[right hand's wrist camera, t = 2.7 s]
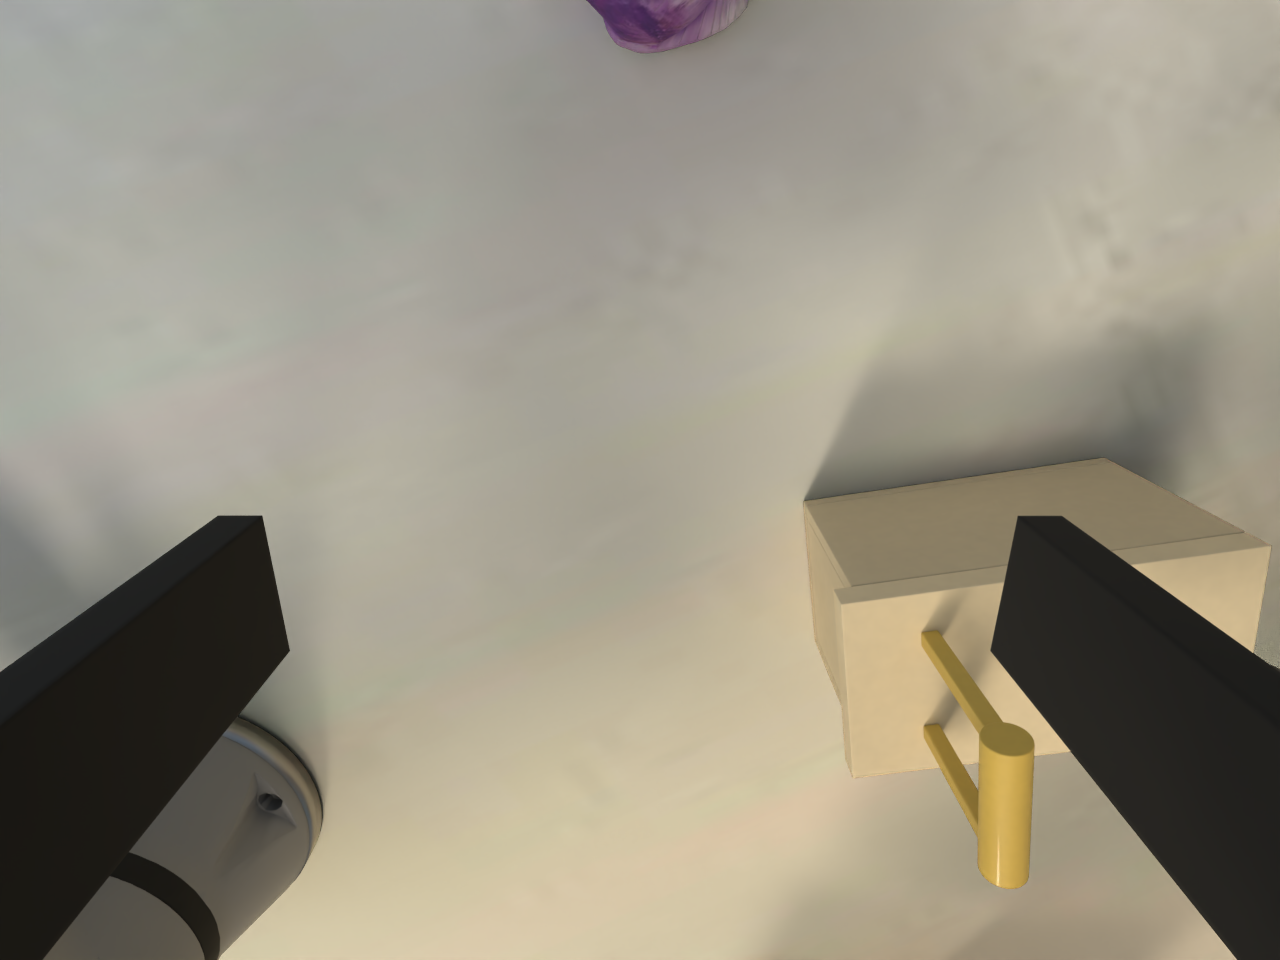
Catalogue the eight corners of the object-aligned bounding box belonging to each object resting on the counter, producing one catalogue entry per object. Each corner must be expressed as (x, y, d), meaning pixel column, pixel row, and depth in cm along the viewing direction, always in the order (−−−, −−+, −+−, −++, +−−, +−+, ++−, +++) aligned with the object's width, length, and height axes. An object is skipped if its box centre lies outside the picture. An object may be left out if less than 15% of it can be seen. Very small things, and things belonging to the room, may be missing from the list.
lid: (845, 758, 33) (911, 934, 25) (832, 588, 30) (904, 727, 22) (1218, 712, 32) (1412, 879, 24) (1247, 531, 29) (1480, 655, 21)
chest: (814, 641, 41) (861, 755, 33) (802, 500, 38) (850, 585, 30) (1093, 603, 40) (1218, 711, 32) (1104, 456, 37) (1245, 531, 29)
